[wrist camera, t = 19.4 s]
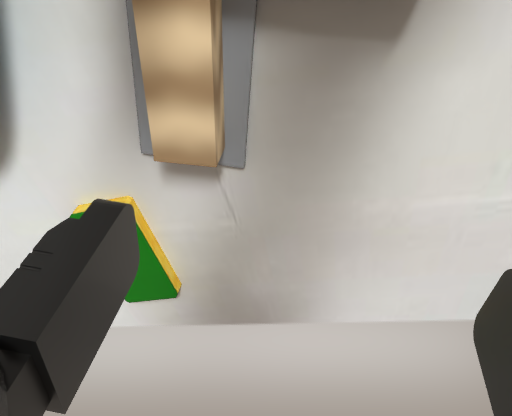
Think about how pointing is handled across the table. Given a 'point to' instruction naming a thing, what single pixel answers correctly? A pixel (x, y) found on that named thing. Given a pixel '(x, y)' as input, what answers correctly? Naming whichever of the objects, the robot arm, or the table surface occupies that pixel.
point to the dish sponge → (146, 262)
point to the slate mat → (234, 78)
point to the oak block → (183, 78)
